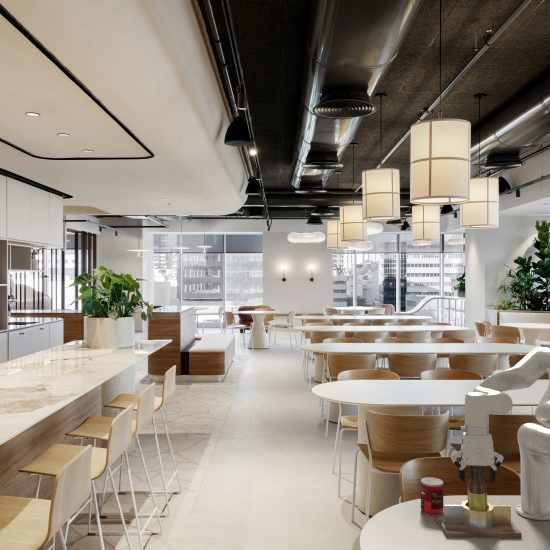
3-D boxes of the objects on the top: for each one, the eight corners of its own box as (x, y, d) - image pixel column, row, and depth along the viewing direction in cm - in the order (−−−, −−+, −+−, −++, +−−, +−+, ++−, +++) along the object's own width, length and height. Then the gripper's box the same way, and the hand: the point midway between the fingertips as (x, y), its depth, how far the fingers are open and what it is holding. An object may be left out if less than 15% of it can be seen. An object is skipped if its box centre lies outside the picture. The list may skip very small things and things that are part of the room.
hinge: (440, 516, 200) (440, 499, 200) (505, 517, 199) (505, 499, 199) (447, 529, 190) (447, 511, 190) (516, 530, 189) (516, 512, 189)
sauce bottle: (475, 517, 199) (474, 459, 199) (491, 523, 194) (490, 463, 194) (464, 522, 195) (462, 463, 195) (480, 528, 190) (479, 467, 190)
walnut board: (436, 518, 202) (436, 514, 202) (506, 519, 201) (506, 514, 201) (446, 537, 188) (446, 532, 188) (521, 537, 187) (521, 533, 187)
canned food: (424, 505, 213) (424, 475, 213) (446, 509, 209) (445, 479, 209) (417, 513, 207) (417, 482, 206) (440, 517, 203) (440, 486, 202)
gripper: (453, 433, 191) (454, 484, 191) (507, 433, 190) (507, 485, 190) (447, 426, 198) (448, 476, 198) (499, 426, 197) (499, 477, 198)
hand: (477, 480), depth 194 cm, fingers open, 9 cm apart
